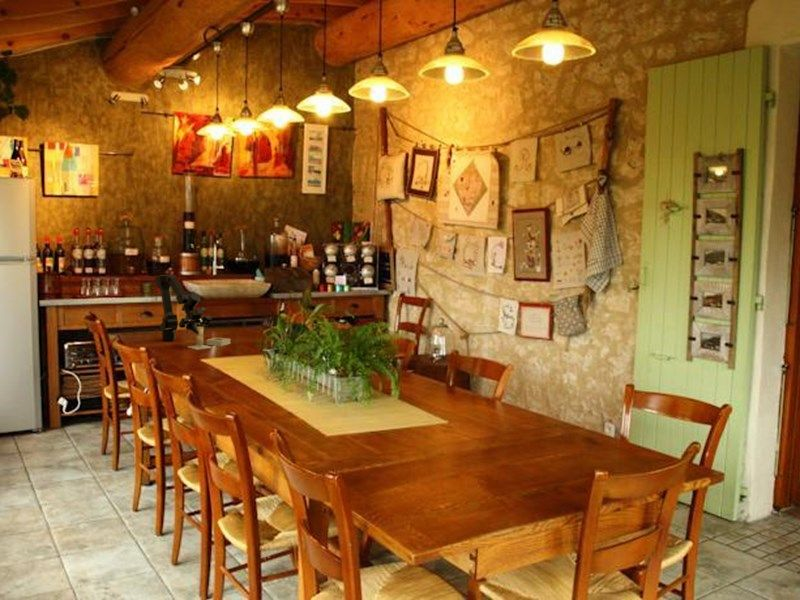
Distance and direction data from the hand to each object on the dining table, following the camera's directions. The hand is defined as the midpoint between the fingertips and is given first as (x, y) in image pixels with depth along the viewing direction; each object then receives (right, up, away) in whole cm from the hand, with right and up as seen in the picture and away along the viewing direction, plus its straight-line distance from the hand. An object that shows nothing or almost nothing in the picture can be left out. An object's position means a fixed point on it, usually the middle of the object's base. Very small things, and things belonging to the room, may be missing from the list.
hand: (201, 333), depth 441 cm
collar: (+6, -7, +16) cm, 18 cm away
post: (-1, -6, +2) cm, 7 cm away
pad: (-1, -8, +2) cm, 8 cm away
